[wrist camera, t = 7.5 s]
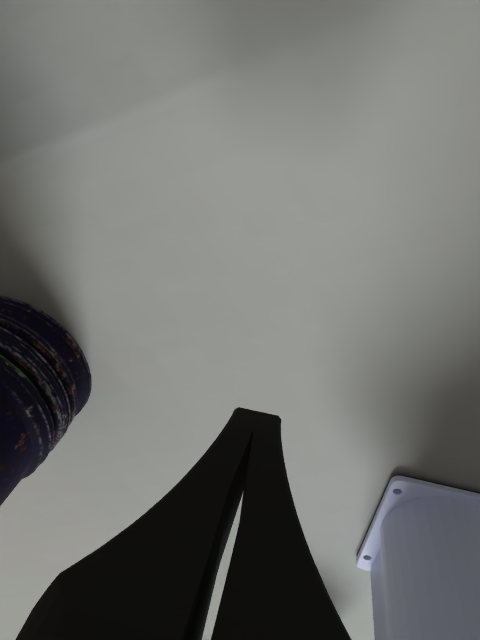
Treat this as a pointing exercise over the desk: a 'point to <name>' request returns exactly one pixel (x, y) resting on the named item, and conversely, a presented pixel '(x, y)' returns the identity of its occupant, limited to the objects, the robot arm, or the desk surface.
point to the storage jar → (35, 388)
